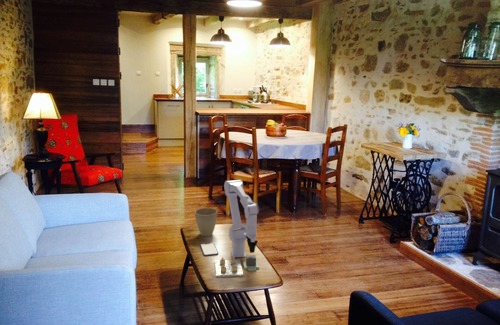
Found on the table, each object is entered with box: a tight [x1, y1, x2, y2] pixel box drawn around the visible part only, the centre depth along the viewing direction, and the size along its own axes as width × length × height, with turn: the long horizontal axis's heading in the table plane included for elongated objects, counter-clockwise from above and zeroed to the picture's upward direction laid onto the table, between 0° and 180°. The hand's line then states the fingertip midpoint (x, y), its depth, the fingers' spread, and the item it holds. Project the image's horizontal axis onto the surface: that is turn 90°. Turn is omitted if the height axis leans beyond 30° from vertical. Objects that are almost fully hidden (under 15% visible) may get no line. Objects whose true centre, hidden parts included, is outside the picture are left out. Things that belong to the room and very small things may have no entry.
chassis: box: [214, 257, 244, 278], centre depth 226 cm, size 18×14×4 cm
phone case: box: [199, 242, 219, 257], centre depth 250 cm, size 9×2×16 cm
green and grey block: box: [242, 254, 260, 272], centre depth 229 cm, size 11×8×6 cm
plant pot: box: [194, 207, 219, 237], centre depth 274 cm, size 15×15×16 cm
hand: (251, 249), depth 227 cm, fingers open, 7 cm apart
